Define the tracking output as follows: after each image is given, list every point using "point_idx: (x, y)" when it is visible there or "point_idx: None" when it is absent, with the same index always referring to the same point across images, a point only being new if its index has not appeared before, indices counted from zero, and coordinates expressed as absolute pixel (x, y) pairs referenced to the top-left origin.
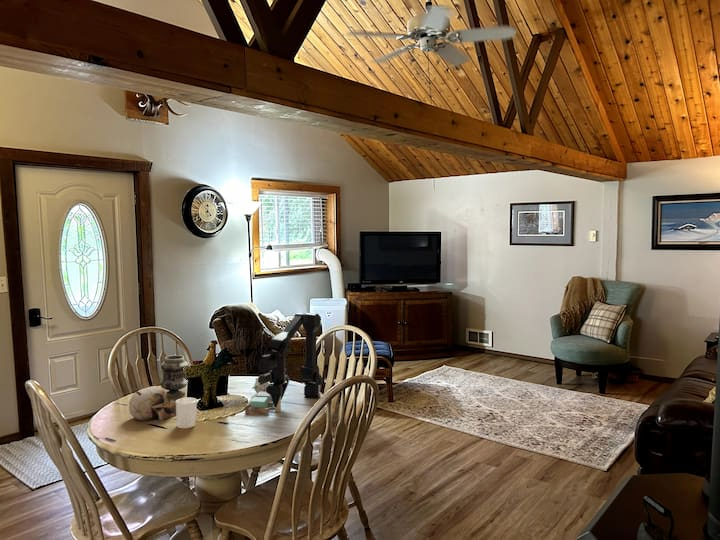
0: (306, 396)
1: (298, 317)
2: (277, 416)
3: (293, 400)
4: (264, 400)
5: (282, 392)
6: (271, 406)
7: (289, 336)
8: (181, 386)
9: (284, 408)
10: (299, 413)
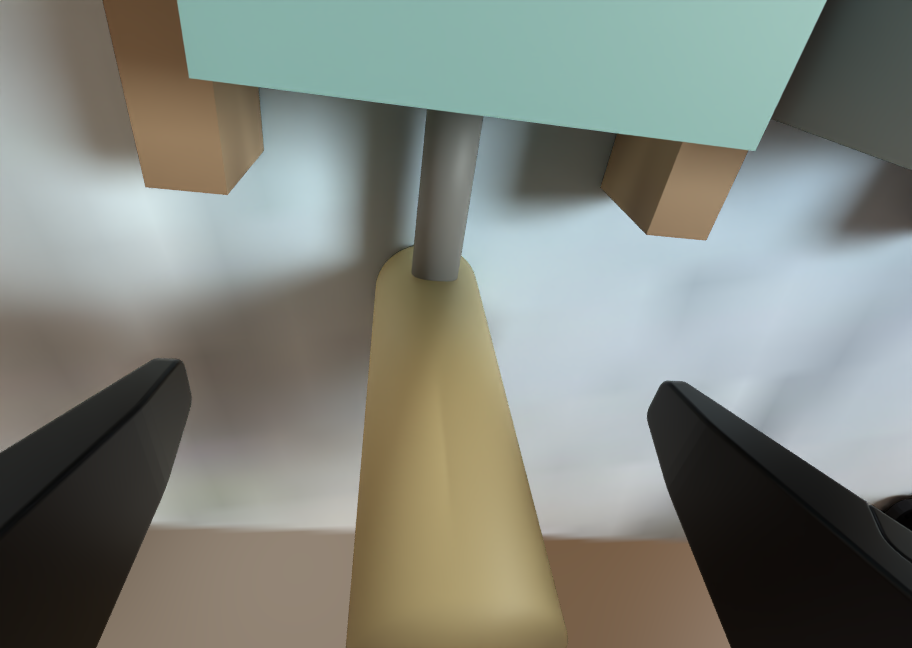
0: (903, 521)
1: None
2: (175, 316)
3: (873, 415)
4: (361, 59)
5: (738, 588)
6: (621, 173)
7: None
8: None
9: (568, 360)
10: None
